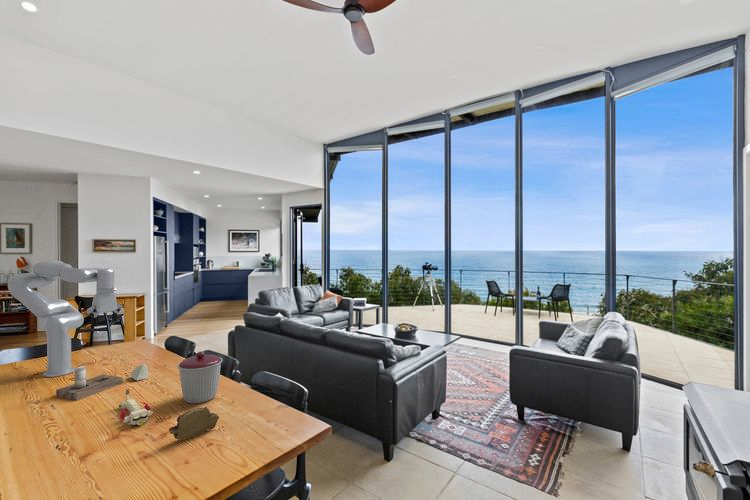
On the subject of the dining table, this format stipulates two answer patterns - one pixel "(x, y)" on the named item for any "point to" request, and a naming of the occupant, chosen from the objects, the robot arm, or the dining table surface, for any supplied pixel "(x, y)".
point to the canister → (200, 377)
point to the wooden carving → (194, 423)
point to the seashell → (140, 372)
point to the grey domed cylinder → (80, 377)
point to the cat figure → (134, 411)
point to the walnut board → (89, 387)
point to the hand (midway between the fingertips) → (104, 322)
